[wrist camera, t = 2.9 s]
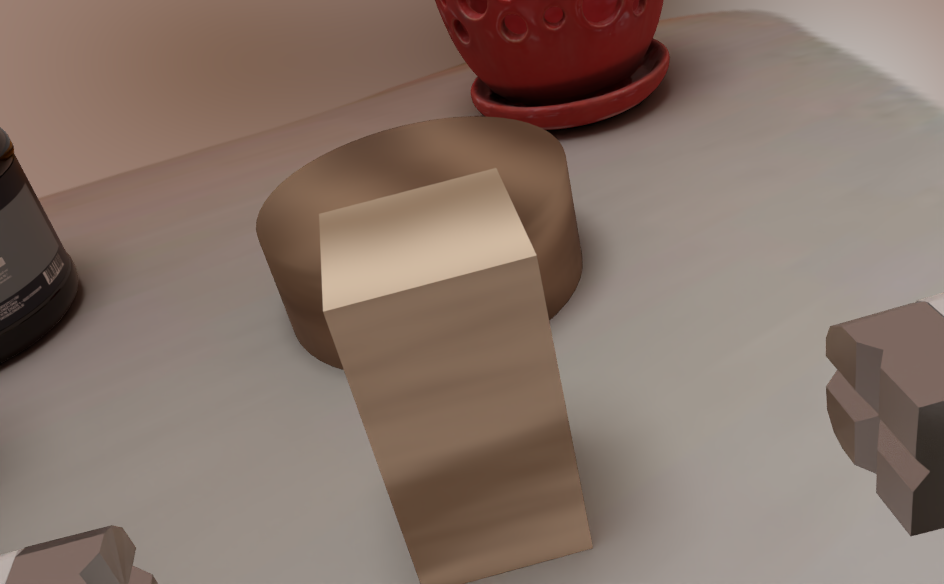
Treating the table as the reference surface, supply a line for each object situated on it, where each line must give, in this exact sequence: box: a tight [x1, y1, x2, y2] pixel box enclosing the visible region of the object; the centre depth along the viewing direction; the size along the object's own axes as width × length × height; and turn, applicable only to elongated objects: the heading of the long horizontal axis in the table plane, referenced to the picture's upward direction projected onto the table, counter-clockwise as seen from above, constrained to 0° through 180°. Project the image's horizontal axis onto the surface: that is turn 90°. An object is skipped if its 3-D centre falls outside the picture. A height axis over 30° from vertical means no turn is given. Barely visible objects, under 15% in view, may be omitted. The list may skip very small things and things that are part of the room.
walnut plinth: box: [256, 116, 582, 370], centre depth 38 cm, size 13×13×5 cm
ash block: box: [319, 168, 593, 584], centre depth 25 cm, size 5×5×10 cm
